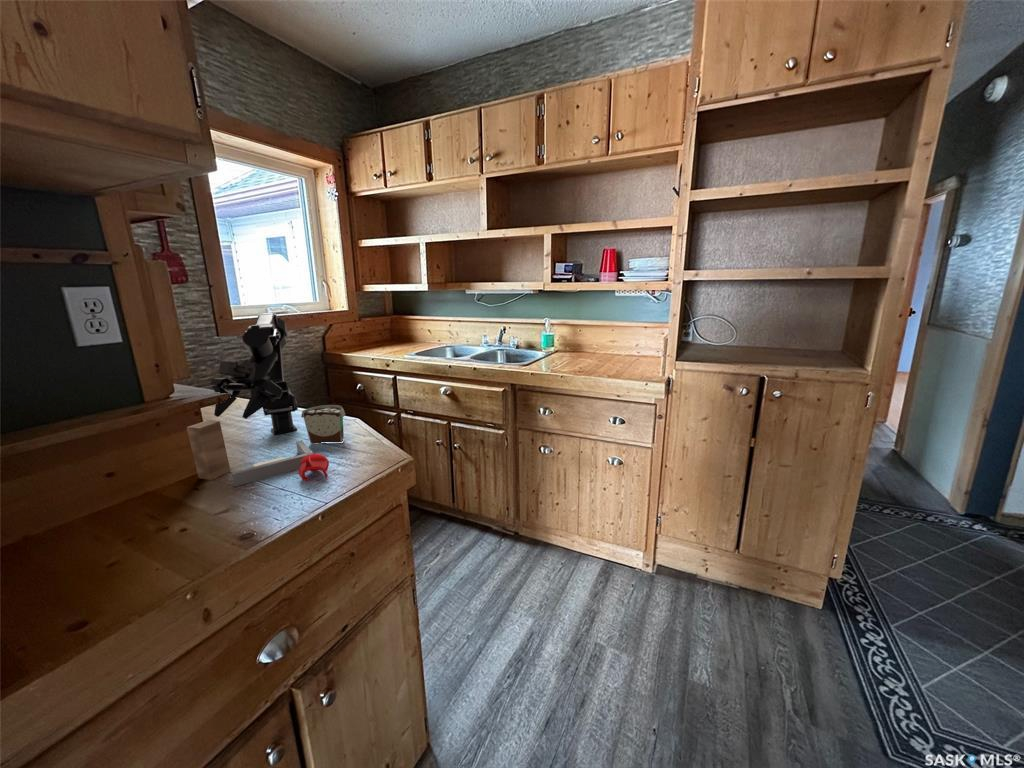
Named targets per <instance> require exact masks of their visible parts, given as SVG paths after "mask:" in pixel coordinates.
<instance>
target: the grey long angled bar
mask: <svg viewBox="0 0 1024 768" xmlns="http://www.w3.org/2000/svg"><path fill="white" fill-rule="evenodd" d="M295 444H296V450H297V453H298V455H295V456H290V457H288V458H287V457H286V458H285V456H281V457H276V458H273V459H270V460H266V461H261V462H257V463H253V464H252V467H248V468H247V467H246V468H243V469H240V470H236V471H233V472H230V473H231V477H232V479H231V480H232V482H233V486H234V488H235V487H239V486H242V485H245V484H250V483H253V482H257V481H261V480H265V479H268V478H272V477H276V476H279V475H282V474H286V473H290V472H293V471H294V472H295V471H297V470H299V467H300V466H301V461H302V459H303V458H304V457H306V456H307V455H310V454H314V452H313V451H312V450H311V449H310V448H309V447H308V445H307V444H306V443H305V442H304V441H303V440H298V441H295Z"/></svg>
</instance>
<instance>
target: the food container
mask: <svg viewBox="0 0 1024 768" xmlns="http://www.w3.org/2000/svg"><path fill="white" fill-rule="evenodd" d="M345 416H346V412H345V410H344V408H343V407H342V405H337V404H326V405H318V406H313V407H309V408H306V409H302V411H301V418H303V421H304V424H305V427H306V428H305V429H306V431H307V434H308V439H309V443H310V444H311V443H321V442H342V441H343V439H344V436H345V435H344V417H345ZM344 440H345V439H344Z"/></svg>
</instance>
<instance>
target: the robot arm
mask: <svg viewBox="0 0 1024 768" xmlns="http://www.w3.org/2000/svg"><path fill="white" fill-rule="evenodd" d="M288 337H289V331H288V328H287V324H286V322H285V321H284V320H283V319H281V318H279V317H278V316H277V313H275V312H266V313H265V312H264V313H259V314H257V321H256V324H252V325H249V326H248V327H247V330H245V331H244V333H243V335H242V342H243V343H244V346H245V349H246V350H247V352H248V354H249V355H250V357H249V358H248V359H239V360H238V361H227V360H226V361H224V360H223V361H222V360H221V361H220V363H219V366H218V371H217V374H218V375H226V376H229V377H230V379H229V378H227V377H214V378H212V379H211V381H210V383H209V387H211V390H212V391H213V392H214V393H215V392H220V393H229V394H230V395H231V398H230V399H229V400H228V401H225V402H222V403H218V404H216V403H215V405H214V406H215V407H214V413H213V415H214V416H215V417H217V418H218V417H220V416H222V414H223V413H225V411H226V410H228V408H229V407H230V406H231V405H232V404H233V403H234V402H235V401H236V400H237V399H238V397H237V396H238V395H240V393H241V392H250V398H249V400H248V402H247V404H246V407H245V409H244V411H243V413H242V418H244V419H245V420H246V419H248V418H250V417H251V416H253V415H255V413H256V412H258V411H259V410H260V409H262V410H263V415H264V417H265V416H270V420H271V424H272V428H270V431H271V433H272V434H273V435H274V436H276V435H281V434H282V435H283V434H284V433H285V434H286V433H290V431H291V432H294V430H295V431H297V430H298V428H297V427H296V426H295V424H294V420H293V414H292V412H296V411H298V409H299V408H298V407H299V406H298V403H297V399H296V396H295V395H294V394H293V392H291V390H290V388H289V385H288V384H287V382H286V381H285V379H284V378H285V376H284V364H283V363H284V362H283V361H284V360H283V350H282V349H283V348H285V346H286V345H287V338H288ZM233 381H235V382H236V383H235V382H233Z"/></svg>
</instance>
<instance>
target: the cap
mask: <svg viewBox="0 0 1024 768" xmlns="http://www.w3.org/2000/svg"><path fill="white" fill-rule="evenodd" d="M329 466H330V462H329V459H328V458H327V457H326V456H325V455H322V454H320V453H313V454H310V455H307V456H306V457H304V458H303V459H302V461H301V466H300V467H299V469H297V470H298V475H299V477H300V479H302V480H303V481H305V482H309V480H310V479H309V477H308V476H306V473H307V472H308V471H309V472H318V471H321V472H322V474H323V476H324V477H325V478H328V472H327V471H328V470H329Z"/></svg>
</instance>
